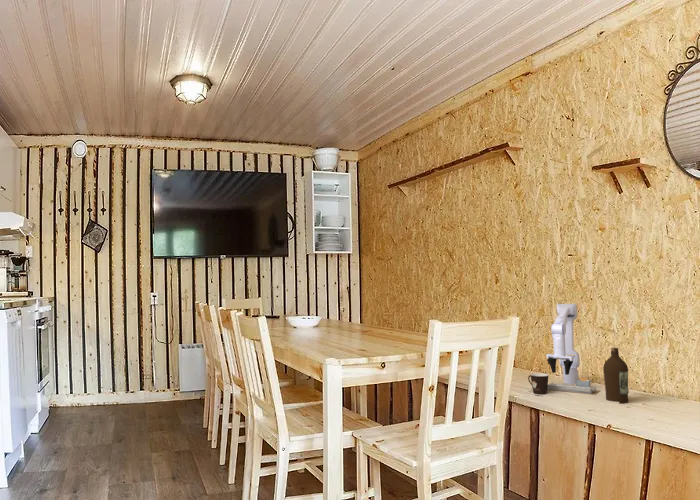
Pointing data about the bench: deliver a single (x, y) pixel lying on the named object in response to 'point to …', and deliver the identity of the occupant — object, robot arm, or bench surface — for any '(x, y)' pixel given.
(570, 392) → the board
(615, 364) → the olive oil
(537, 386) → the coffee mug
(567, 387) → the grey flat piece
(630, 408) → the bench surface
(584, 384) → the block
